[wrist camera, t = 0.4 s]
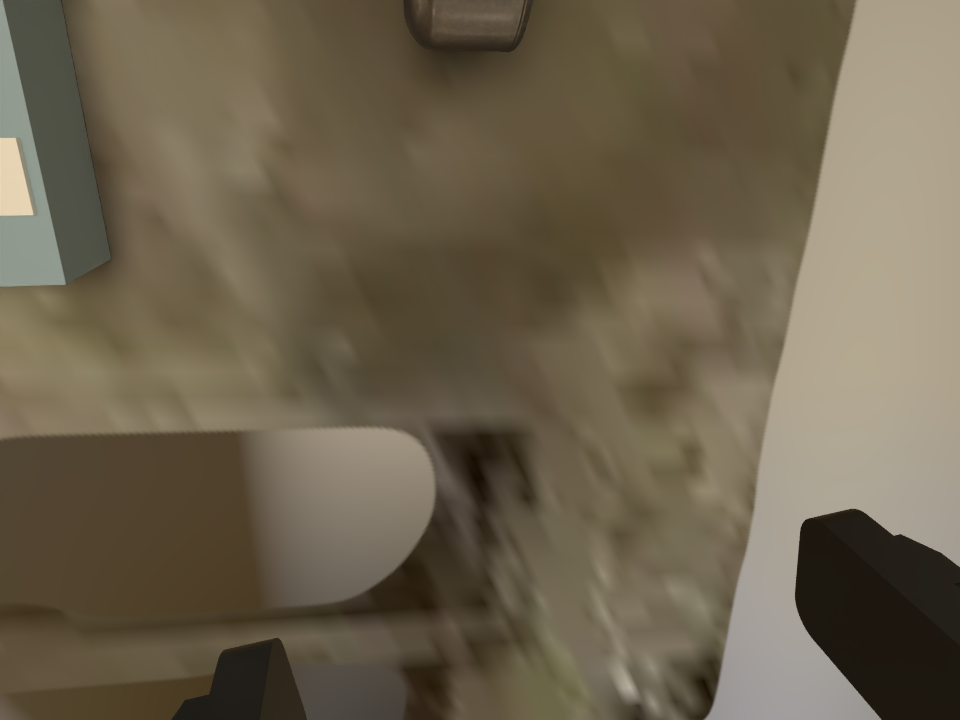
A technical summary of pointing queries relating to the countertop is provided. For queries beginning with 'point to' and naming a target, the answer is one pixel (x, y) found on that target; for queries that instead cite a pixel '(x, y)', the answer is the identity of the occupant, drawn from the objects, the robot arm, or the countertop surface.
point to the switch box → (44, 154)
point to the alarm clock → (467, 23)
